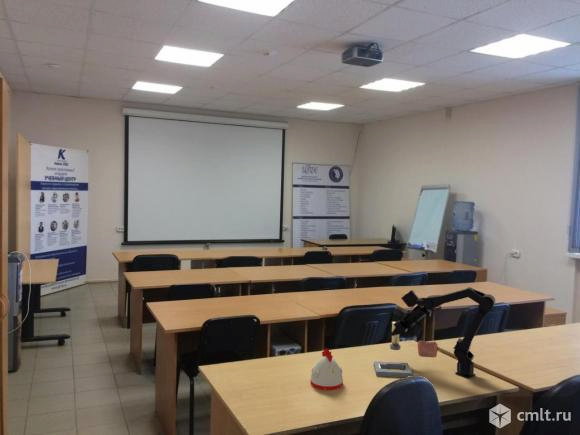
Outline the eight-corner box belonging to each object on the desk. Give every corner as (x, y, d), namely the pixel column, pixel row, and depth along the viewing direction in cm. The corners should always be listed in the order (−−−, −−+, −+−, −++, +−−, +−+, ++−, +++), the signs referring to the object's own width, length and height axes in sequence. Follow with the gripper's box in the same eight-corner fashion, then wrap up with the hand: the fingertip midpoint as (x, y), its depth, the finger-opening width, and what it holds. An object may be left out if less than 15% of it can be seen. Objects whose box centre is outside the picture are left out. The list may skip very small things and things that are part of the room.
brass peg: (402, 348, 223) (403, 322, 222) (395, 350, 220) (396, 324, 219) (394, 346, 227) (395, 320, 226) (387, 347, 224) (388, 321, 224)
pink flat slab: (418, 342, 257) (418, 339, 257) (436, 343, 254) (436, 340, 254) (416, 357, 232) (416, 353, 232) (437, 359, 229) (437, 356, 229)
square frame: (407, 367, 216) (407, 362, 216) (412, 377, 203) (412, 372, 203) (373, 365, 217) (373, 361, 217) (376, 375, 204) (376, 371, 204)
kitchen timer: (319, 392, 186) (320, 356, 185) (305, 380, 198) (305, 346, 198) (348, 387, 191) (349, 352, 191) (333, 375, 204) (333, 342, 203)
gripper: (409, 298, 229) (387, 317, 235) (398, 305, 213) (375, 325, 218) (424, 315, 225) (402, 334, 231) (414, 324, 209) (391, 344, 215)
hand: (392, 334), depth 224 cm, fingers closed on brass peg, 3 cm apart
